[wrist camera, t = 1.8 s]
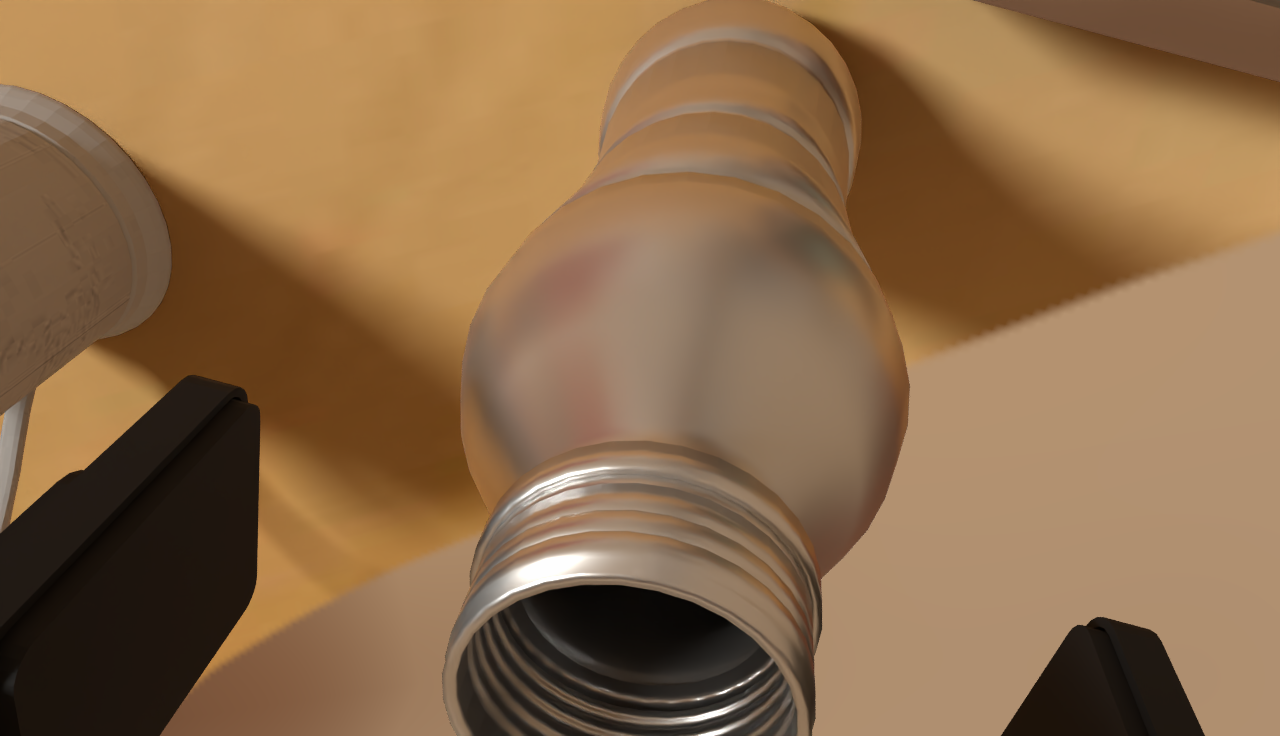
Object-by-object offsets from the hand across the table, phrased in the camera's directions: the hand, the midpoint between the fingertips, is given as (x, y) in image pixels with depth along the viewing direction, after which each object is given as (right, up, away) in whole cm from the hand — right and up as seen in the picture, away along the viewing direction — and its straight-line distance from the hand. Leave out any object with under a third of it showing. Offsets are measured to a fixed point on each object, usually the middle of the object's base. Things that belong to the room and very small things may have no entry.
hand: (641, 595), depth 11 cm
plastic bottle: (+3, +10, +15) cm, 18 cm away
